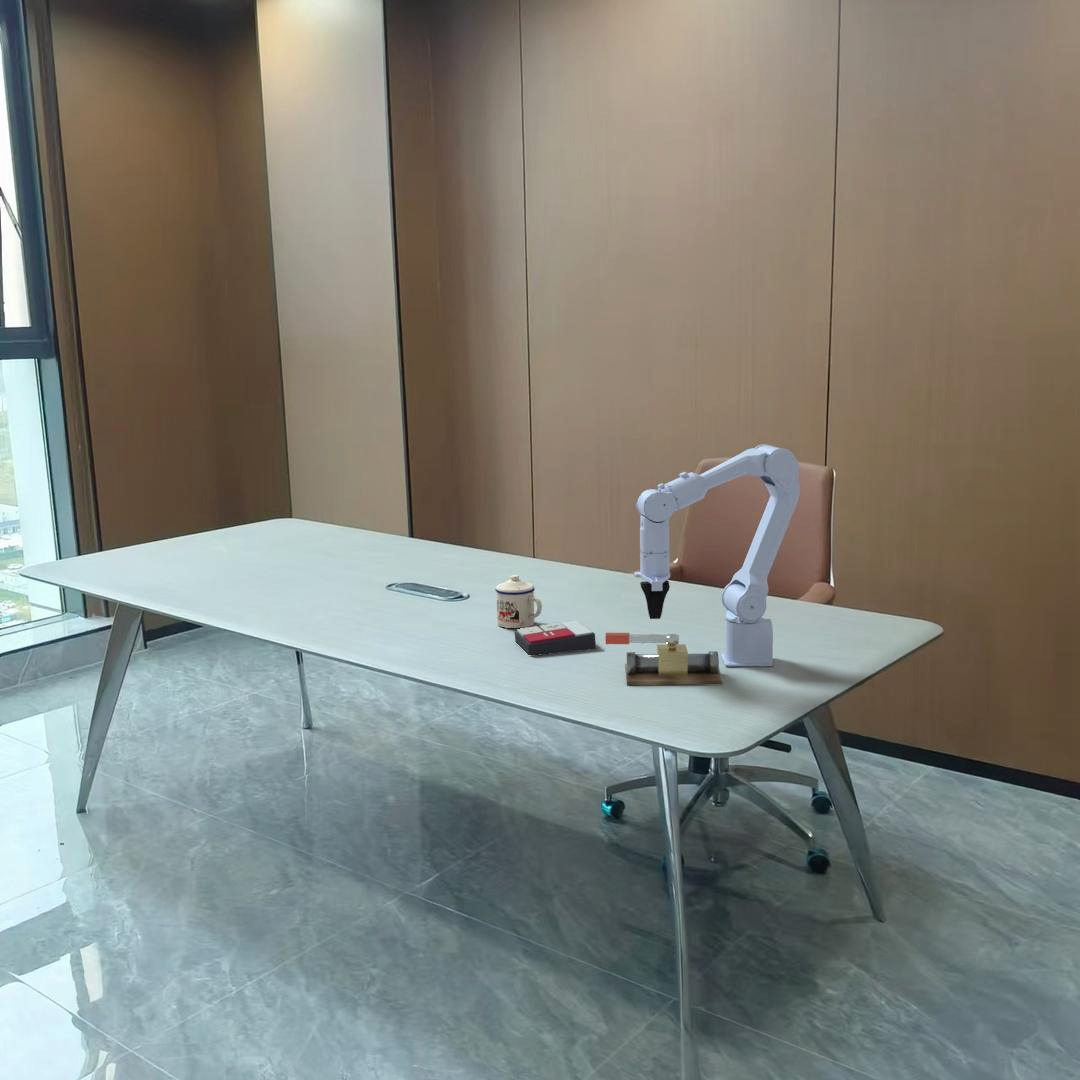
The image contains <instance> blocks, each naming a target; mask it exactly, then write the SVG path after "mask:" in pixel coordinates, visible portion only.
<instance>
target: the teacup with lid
mask: <svg viewBox="0 0 1080 1080" xmlns="http://www.w3.org/2000/svg"><path fill="white" fill-rule="evenodd" d="M509 578H510V579H507V580H505V581H504V582H502V583H499V584H498V585H496V587H495V592H496V614H497V618H496V619H497V625H498V627H500V626H501V627H500V628H502V627H505V628H504V629H507V628H526V627H527V628H528V627H533V625H534V624H535V618H537V617H539V616H540V615H541V613H542V609H543V605H542V602H541V601H542V600H541V599H539V598H538V597H536V596H535V594H534V593H535V592H534V591H535V585H534V584H533V583H530V582H526V581H525V580H523V579H520V577H519V575H518V574H513V575H510V577H509ZM535 603H536V607H537V608H536V611H535Z"/></svg>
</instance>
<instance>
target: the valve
mask: <svg viewBox="0 0 1080 1080" xmlns="http://www.w3.org/2000/svg"><path fill="white" fill-rule="evenodd" d="M719 659H720V658H719V653H718V651H712V650H711V651H710V650H709V651H708V652H707V653H689V652H688V648H687V645H686V644H685V643H684V644H682V643H681V644H676V645H669V644H656V653H636V651H627V652H626V664H627V674H636V673H654V672H658V676H688V672H709V673H710V674H718V672H719V670H720V667H719V663H720V662H719V661H720V660H719Z"/></svg>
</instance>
